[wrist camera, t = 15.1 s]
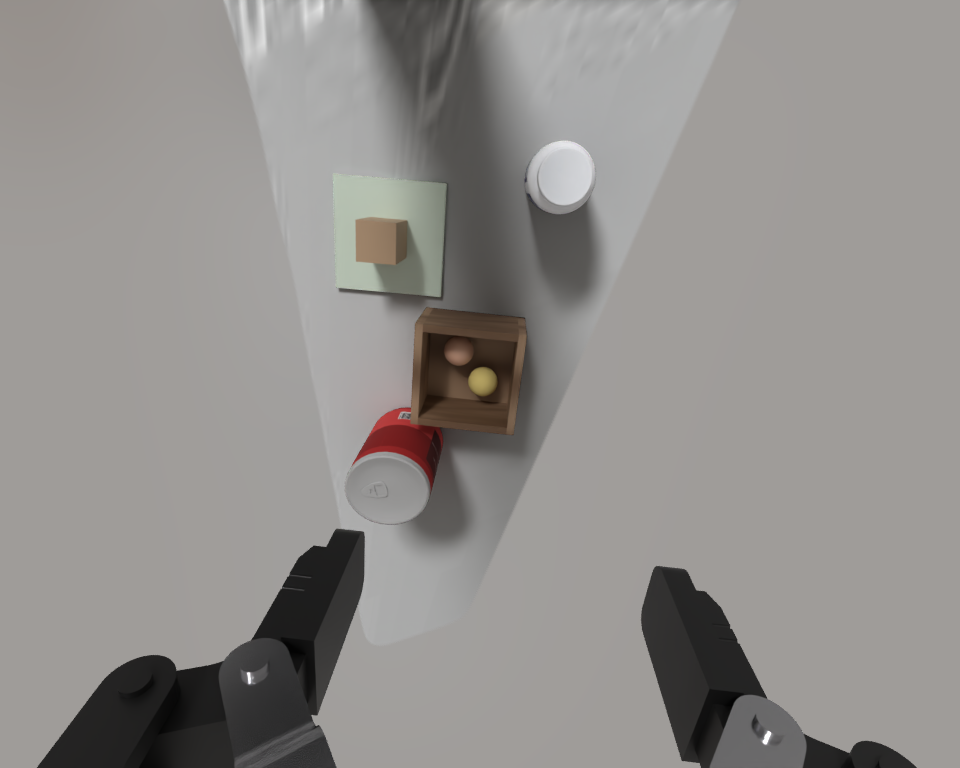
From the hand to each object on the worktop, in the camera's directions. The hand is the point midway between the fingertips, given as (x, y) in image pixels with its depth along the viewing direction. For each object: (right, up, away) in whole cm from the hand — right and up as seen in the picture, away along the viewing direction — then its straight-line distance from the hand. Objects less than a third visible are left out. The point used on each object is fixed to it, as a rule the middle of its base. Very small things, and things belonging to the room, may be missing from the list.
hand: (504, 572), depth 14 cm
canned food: (-9, -1, +42) cm, 43 cm away
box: (-2, +8, +38) cm, 39 cm away
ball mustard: (0, +6, +38) cm, 38 cm away
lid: (-9, +20, +34) cm, 41 cm away
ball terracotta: (-3, +9, +37) cm, 38 cm away
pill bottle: (+6, +24, +32) cm, 40 cm away
